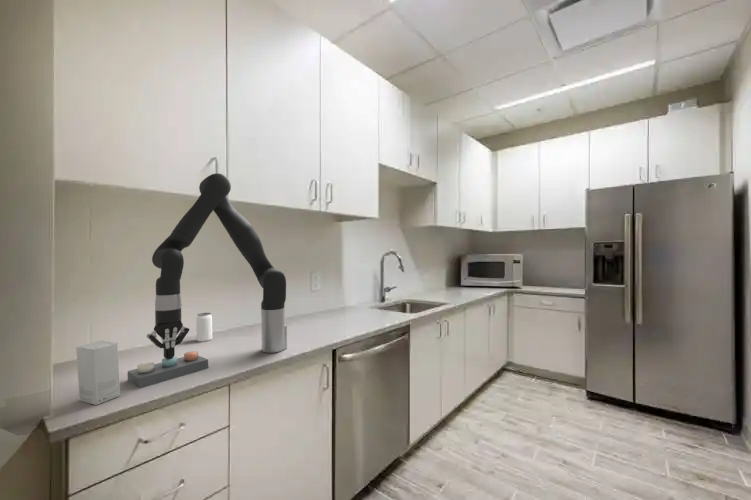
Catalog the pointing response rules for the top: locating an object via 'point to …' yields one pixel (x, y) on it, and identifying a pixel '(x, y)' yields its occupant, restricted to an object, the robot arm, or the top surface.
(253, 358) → the top surface
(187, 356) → the terracotta button
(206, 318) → the can
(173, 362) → the teal button
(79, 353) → the skincare box
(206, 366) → the console
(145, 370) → the cream button
